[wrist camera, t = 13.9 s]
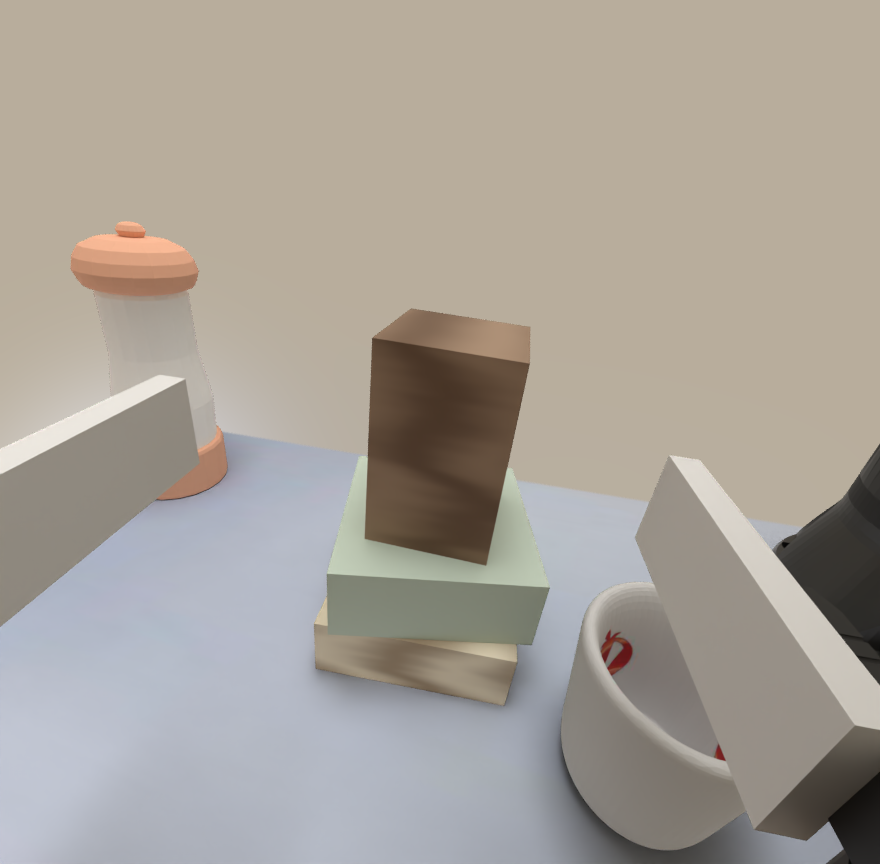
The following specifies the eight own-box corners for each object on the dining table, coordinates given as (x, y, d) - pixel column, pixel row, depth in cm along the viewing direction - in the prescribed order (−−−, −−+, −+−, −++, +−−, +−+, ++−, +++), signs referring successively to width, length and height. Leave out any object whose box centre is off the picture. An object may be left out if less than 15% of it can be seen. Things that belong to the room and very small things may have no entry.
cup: (626, 634, 27) (672, 535, 23) (770, 751, 22) (858, 647, 18) (506, 744, 21) (543, 632, 17) (667, 948, 15) (773, 850, 12)
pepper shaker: (246, 469, 38) (218, 230, 29) (165, 512, 32) (100, 228, 23) (190, 443, 41) (149, 217, 32) (106, 478, 35) (28, 213, 26)
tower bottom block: (502, 570, 31) (513, 527, 29) (502, 711, 22) (517, 662, 21) (367, 545, 32) (369, 502, 30) (315, 674, 23) (314, 623, 21)
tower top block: (501, 516, 30) (512, 468, 28) (531, 645, 21) (549, 587, 20) (357, 505, 30) (359, 455, 28) (327, 634, 21) (326, 573, 19)
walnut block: (495, 493, 26) (530, 326, 21) (486, 565, 20) (529, 363, 16) (398, 474, 26) (410, 308, 22) (364, 538, 21) (372, 337, 17)
